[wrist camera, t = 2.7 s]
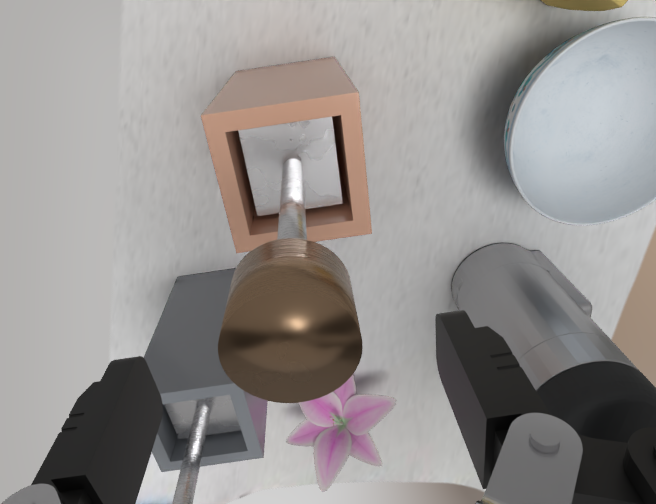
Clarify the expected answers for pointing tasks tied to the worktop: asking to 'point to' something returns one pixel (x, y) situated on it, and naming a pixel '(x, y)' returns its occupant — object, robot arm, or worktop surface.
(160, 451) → the grey square holder
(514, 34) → the worktop surface
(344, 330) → the bronze knob plunger
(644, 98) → the chinaware
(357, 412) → the lily
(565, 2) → the cheese
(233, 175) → the press terracotta
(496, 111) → the worktop surface
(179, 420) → the tall bronze-capped rod
